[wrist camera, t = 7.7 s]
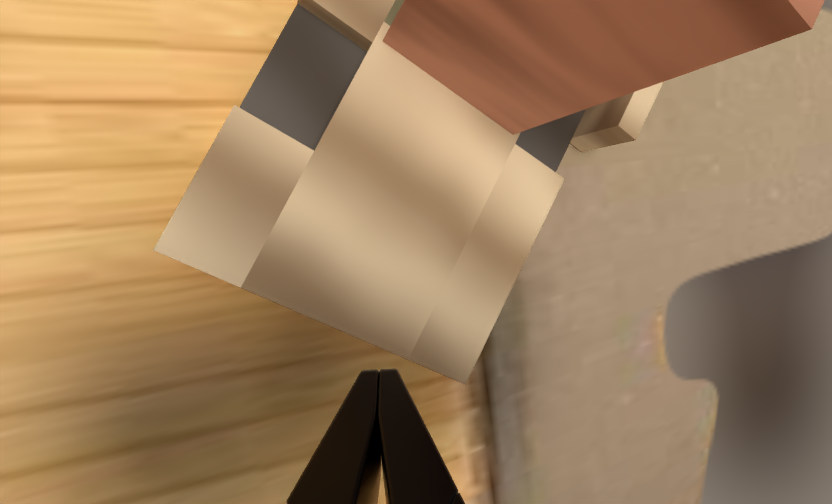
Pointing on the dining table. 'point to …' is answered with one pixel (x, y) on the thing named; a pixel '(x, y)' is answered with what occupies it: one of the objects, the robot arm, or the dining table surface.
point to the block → (579, 47)
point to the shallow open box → (378, 190)
